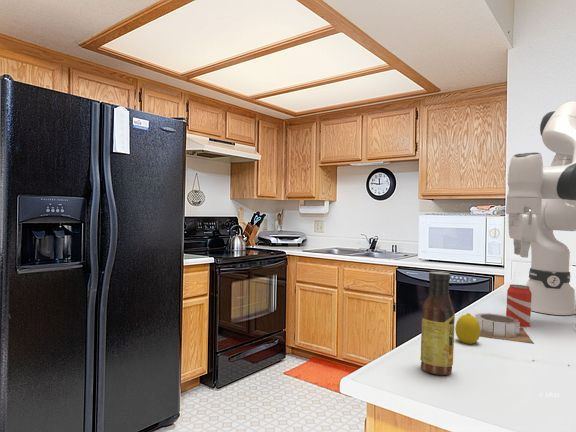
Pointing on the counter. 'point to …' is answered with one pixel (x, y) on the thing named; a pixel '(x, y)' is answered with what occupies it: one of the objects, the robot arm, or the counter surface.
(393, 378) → the counter surface
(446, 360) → the sauce bottle
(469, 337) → the lemon
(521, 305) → the beverage can
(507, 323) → the white segmented ring
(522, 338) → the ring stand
